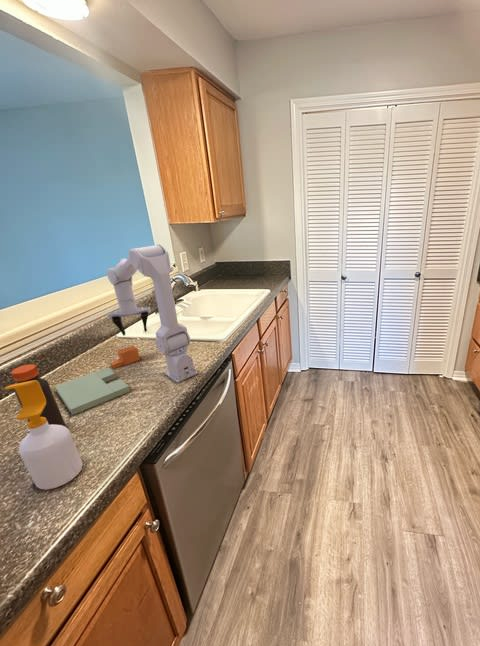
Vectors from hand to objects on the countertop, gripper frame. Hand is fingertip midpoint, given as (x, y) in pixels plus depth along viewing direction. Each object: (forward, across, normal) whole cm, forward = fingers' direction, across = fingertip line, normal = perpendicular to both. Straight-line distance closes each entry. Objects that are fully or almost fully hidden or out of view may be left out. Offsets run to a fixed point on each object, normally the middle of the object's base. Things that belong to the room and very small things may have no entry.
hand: (135, 332), depth 126 cm
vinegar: (+10, +21, +42) cm, 48 cm away
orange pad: (+10, +5, +4) cm, 12 cm away
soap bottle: (+10, +16, +60) cm, 63 cm away
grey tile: (+10, +14, +22) cm, 28 cm away
